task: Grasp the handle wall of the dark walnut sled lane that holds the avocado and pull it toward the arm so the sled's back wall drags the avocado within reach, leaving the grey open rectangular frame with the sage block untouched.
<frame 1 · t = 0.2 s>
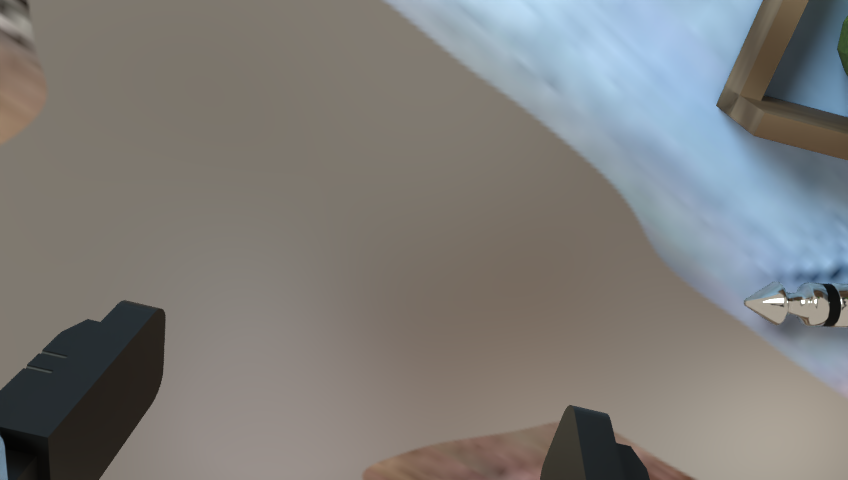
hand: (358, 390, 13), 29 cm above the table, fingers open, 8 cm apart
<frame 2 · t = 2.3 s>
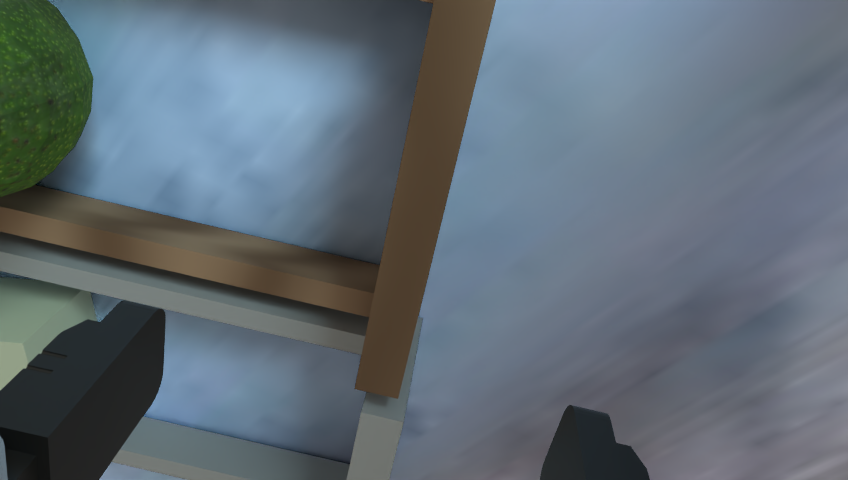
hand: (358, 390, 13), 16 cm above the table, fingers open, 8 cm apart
sage block: (51, 322, 33), resting in grey open rectangular frame
grey open rectangular frame: (134, 400, 30), point 4 cm above the table, slide at 0.4 cm
walnut sled: (126, 111, 24), point 4 cm above the table, slide at 0.0 cm
avocado: (48, 56, 27), resting in walnut sled
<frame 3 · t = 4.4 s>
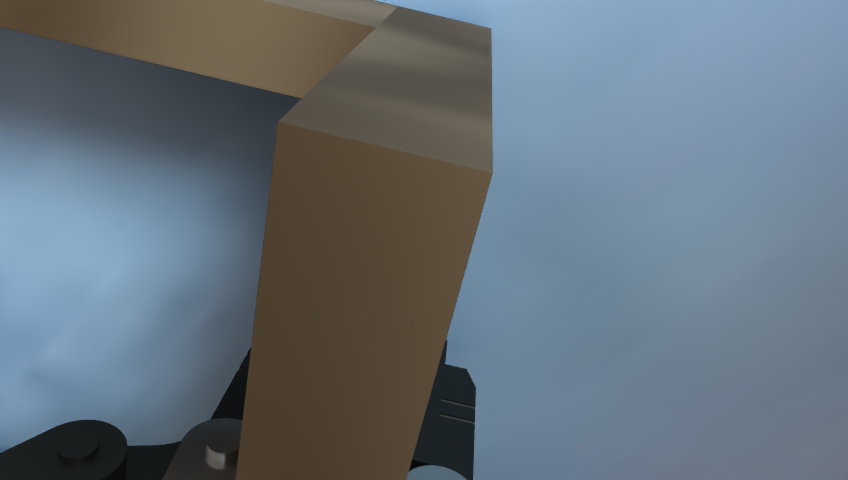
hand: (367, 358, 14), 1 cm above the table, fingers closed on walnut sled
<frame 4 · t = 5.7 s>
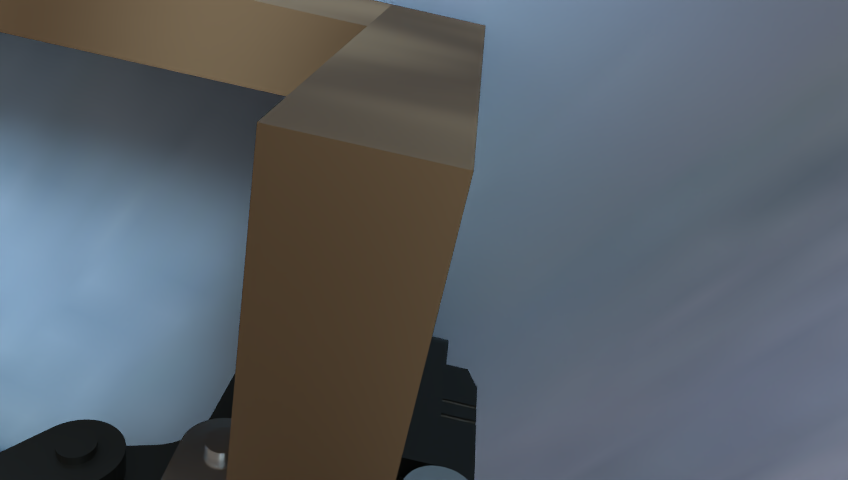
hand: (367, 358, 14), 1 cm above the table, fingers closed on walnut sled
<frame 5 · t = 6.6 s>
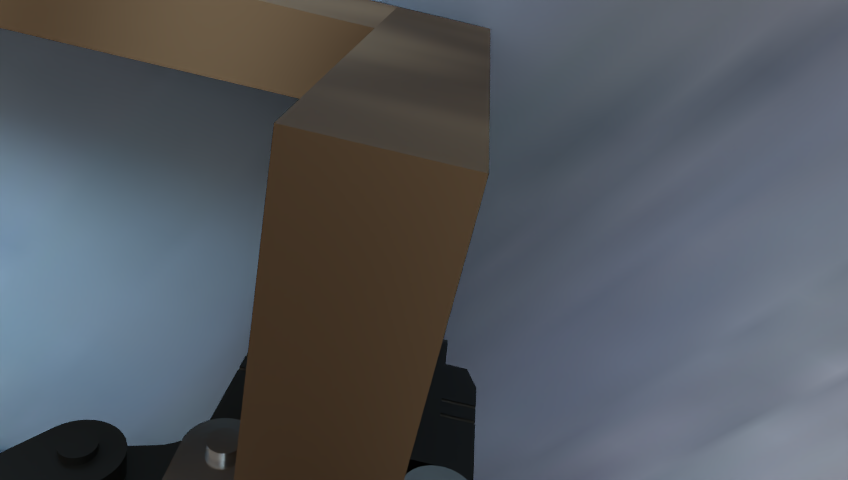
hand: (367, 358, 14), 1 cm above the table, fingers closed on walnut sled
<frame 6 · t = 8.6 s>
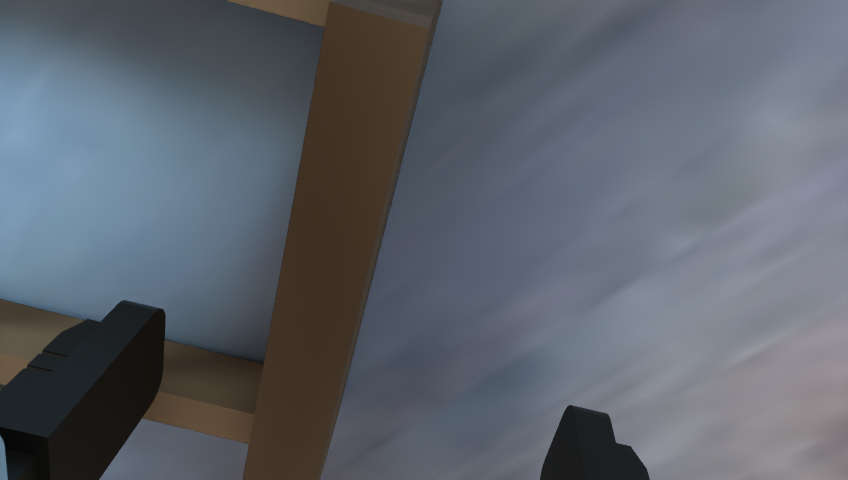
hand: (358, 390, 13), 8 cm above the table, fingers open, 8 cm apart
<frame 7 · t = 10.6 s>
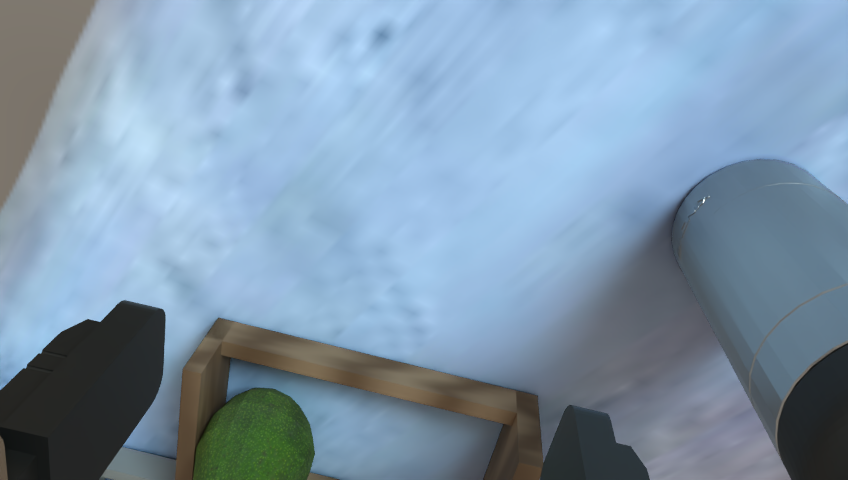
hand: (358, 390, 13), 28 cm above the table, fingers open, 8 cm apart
walnut sled: (352, 462, 47), point 4 cm above the table, slide at 9.9 cm, touching avocado
avocado: (278, 406, 51), resting in walnut sled
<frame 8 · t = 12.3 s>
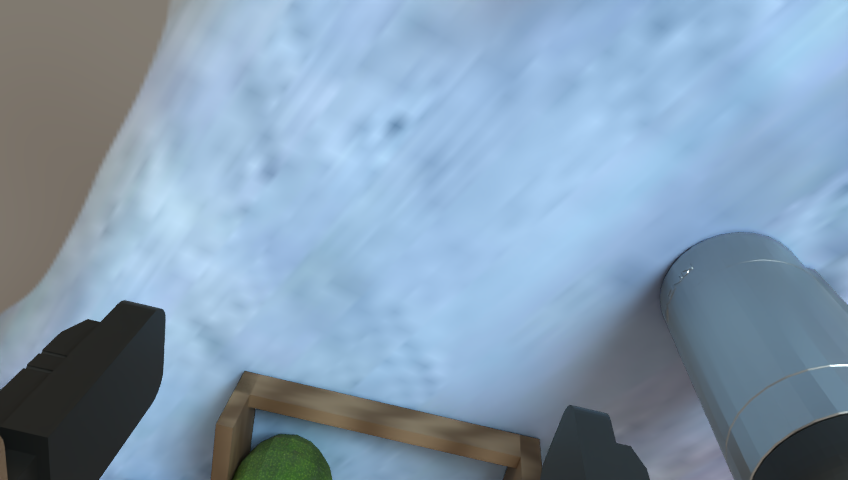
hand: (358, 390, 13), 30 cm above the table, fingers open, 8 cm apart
avocado: (299, 449, 55), resting in walnut sled
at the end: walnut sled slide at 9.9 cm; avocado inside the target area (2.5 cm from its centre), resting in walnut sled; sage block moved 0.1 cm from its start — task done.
